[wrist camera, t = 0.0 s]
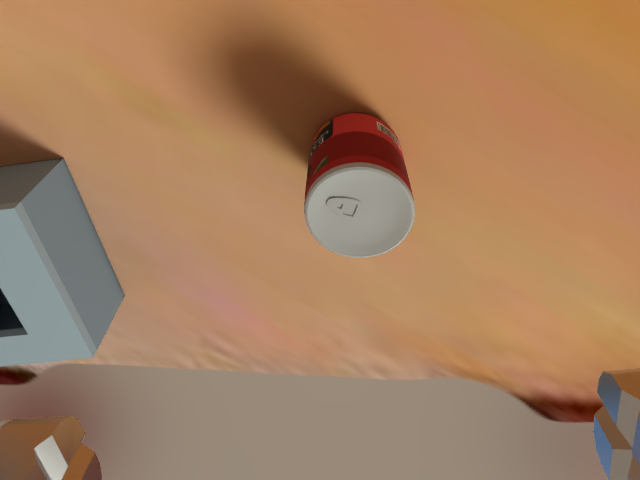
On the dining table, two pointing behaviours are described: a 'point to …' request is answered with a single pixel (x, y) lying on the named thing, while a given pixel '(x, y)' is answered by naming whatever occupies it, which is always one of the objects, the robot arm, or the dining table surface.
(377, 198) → the canned food
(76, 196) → the tissue box
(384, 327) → the dining table surface
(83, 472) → the robot arm
